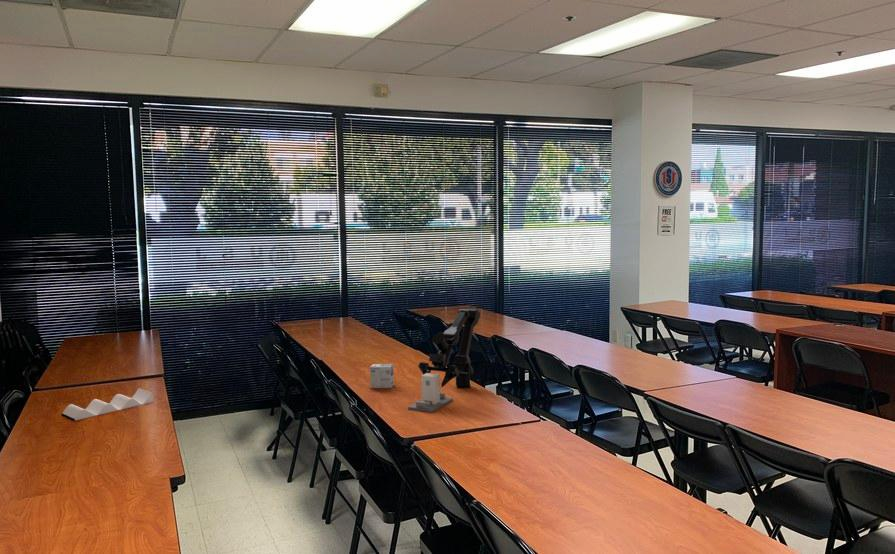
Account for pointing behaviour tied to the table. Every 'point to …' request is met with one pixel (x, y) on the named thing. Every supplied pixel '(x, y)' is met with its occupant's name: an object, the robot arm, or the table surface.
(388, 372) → the light bulb box
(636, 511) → the table surface
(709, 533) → the table surface
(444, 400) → the rail plate
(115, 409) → the grey zigzag strip
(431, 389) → the block
